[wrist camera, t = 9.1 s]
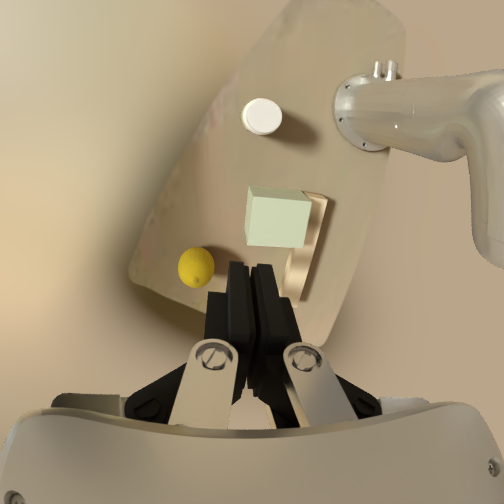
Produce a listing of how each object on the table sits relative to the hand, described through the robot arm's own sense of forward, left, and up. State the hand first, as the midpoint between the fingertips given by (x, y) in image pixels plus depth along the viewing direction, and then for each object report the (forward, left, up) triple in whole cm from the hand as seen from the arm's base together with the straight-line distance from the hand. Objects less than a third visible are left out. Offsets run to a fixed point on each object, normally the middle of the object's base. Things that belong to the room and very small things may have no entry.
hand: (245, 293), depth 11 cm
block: (+6, +8, -31) cm, 32 cm away
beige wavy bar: (+12, +13, -31) cm, 36 cm away
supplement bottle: (-8, +3, -31) cm, 32 cm away
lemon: (+15, -3, -31) cm, 35 cm away
